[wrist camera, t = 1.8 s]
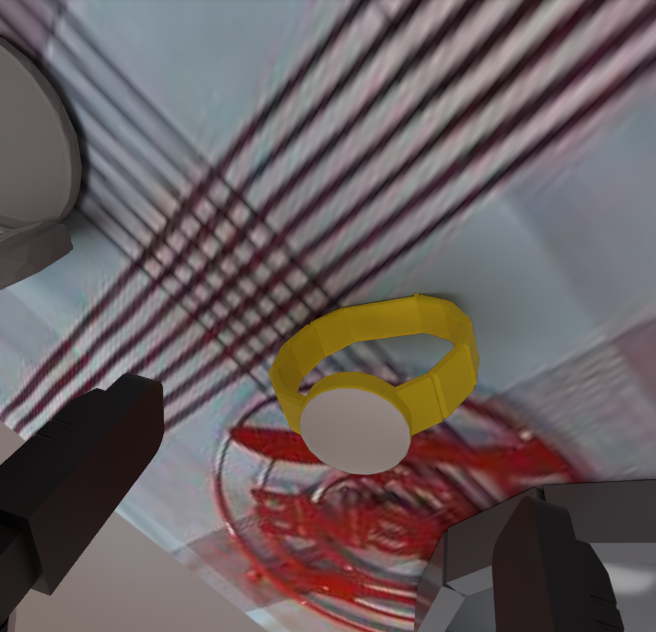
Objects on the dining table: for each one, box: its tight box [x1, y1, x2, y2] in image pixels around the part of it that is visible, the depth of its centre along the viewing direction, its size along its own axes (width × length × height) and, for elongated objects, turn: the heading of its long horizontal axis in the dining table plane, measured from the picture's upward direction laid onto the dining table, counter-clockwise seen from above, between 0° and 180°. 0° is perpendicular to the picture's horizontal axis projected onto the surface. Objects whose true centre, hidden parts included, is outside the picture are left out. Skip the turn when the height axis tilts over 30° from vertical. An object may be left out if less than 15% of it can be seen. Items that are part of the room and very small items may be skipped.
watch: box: [269, 293, 479, 475], centre depth 14 cm, size 6×3×6 cm, turn 108°
